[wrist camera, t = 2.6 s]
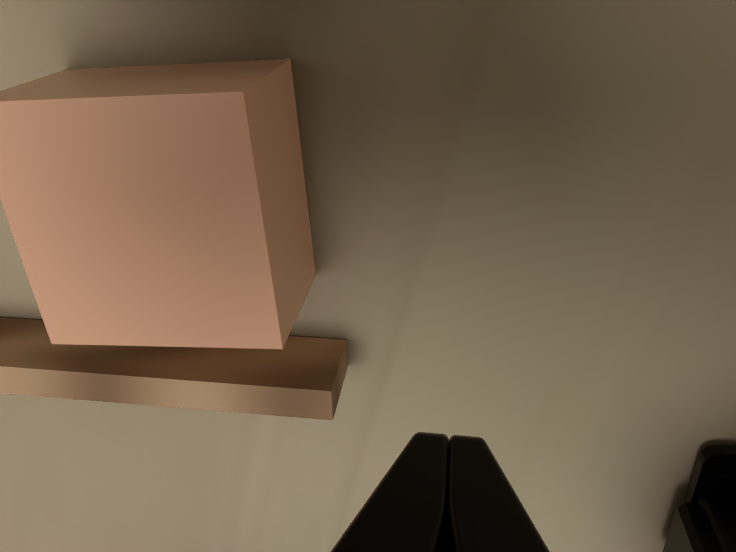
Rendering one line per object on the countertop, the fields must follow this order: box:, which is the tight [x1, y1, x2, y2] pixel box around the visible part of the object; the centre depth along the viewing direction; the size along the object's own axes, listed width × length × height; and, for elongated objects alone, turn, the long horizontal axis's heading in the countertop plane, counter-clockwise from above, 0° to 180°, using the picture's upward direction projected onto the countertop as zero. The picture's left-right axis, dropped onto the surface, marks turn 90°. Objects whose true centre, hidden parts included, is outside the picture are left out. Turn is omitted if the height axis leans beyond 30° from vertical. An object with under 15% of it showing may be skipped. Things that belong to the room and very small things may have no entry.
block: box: [0, 59, 316, 349], centre depth 16 cm, size 6×6×4 cm
